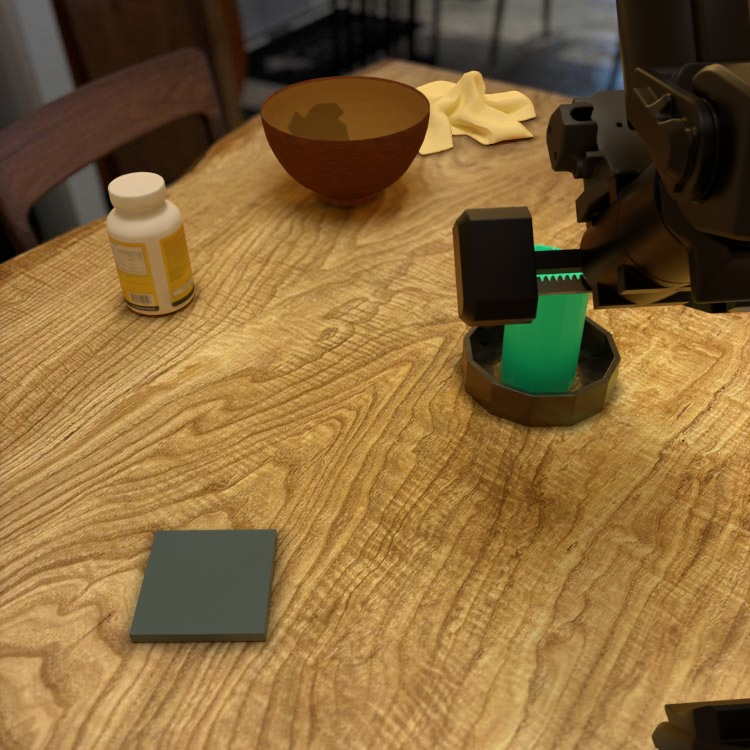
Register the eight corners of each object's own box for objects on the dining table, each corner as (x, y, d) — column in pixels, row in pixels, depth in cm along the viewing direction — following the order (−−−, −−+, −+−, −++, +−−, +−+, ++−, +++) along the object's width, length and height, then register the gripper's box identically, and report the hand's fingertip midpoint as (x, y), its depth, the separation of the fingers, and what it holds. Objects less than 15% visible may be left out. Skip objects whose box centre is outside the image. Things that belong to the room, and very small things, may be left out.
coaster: (277, 536, 57) (276, 528, 56) (265, 641, 51) (264, 633, 50) (157, 538, 57) (155, 529, 56) (131, 642, 51) (128, 634, 50)
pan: (628, 424, 65) (635, 394, 63) (470, 427, 65) (473, 397, 63) (560, 237, 87) (564, 210, 85) (442, 239, 87) (443, 213, 85)
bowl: (416, 238, 87) (418, 145, 81) (249, 226, 90) (238, 135, 83) (436, 163, 100) (439, 79, 94) (291, 155, 103) (284, 72, 97)
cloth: (408, 85, 120) (408, 40, 116) (541, 94, 117) (546, 48, 113) (374, 151, 103) (373, 101, 100) (528, 164, 100) (533, 113, 96)
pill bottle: (200, 278, 82) (181, 165, 74) (190, 317, 77) (169, 200, 69) (132, 280, 82) (106, 167, 74) (118, 319, 77) (89, 202, 69)
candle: (489, 360, 71) (500, 233, 64) (556, 348, 72) (575, 223, 65) (515, 405, 67) (530, 275, 59) (586, 393, 68) (610, 263, 60)
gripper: (852, 50, 41) (711, 164, 56) (466, 65, 40) (431, 176, 56) (879, 278, 40) (728, 330, 55) (484, 298, 39) (443, 345, 55)
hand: (583, 290), depth 55 cm, fingers open, 9 cm apart
